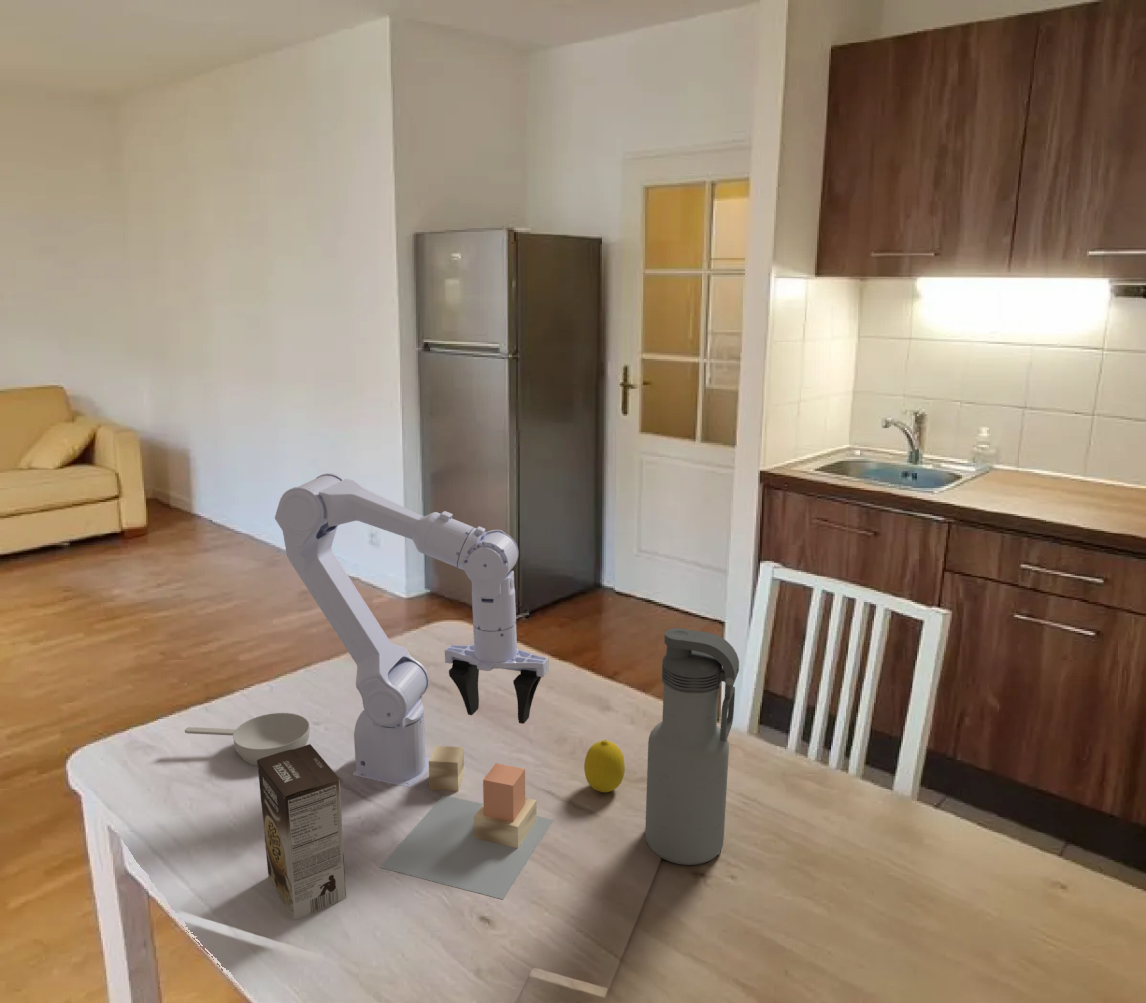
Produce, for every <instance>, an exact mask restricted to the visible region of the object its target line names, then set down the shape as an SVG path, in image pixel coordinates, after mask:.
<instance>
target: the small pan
mask: <svg viewBox="0 0 1146 1003" xmlns="http://www.w3.org/2000/svg"><path fill="white" fill-rule="evenodd" d="M184 733H185V734H189V735H190V734H193V735H210V736H211V735H215V736H216V735H217V736H232V739H233V745H234V748H235V751H236V752H237V753H238V754H239V756H240V758H242V759H243V760H244V761H245V762H246V763H248V764H250V765H252V766H256V767H258V764H257V760H258V759H261V758H264V757H267V756H270V755H273V754H276V753H279V752H283V751H287V750H291V749H297V748H300V747H303V746H306V745H307V743H308V741H309V738H310V722H309V720H308V719H307V718H305V717H304V716H303V715H299V714H296V713H290V712H275V713H268V714H263V715H260V716H259V715H258V716H256V717H254V718H250V719H248V720H246V721H245V722H243V723H242V724H240V725H239V726H238V727H237V728H236V729H235V728H233V729H232V728H216V727H215V728H213V727H193V726H192V727H191V726H188V727H186V728H185V729H184Z"/></svg>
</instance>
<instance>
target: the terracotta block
mask: <svg viewBox="0 0 1146 1003" xmlns="http://www.w3.org/2000/svg"><path fill="white" fill-rule="evenodd" d="M482 788H483V789H482V791H483V792H482V793H483V795H482V797H483V804H484V816H489V817H494V818H498V819H503V820H508V821H513V822H514V820H515V819H516V817H517V816H518V814H519V813H520V811H521V810H522V808H523V806H524V805H525V798H526V768H522V767H517V766H513V765H507V764H501V763H495V764H494V765H493V766H492V767H491V769H490V770H489V772H488V773H487V774H486V776H485V777H484V778H483V780H482Z"/></svg>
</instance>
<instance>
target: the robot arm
mask: <svg viewBox="0 0 1146 1003" xmlns="http://www.w3.org/2000/svg"><path fill="white" fill-rule="evenodd" d="M274 519H275V521H276V523H277V525H278V526H279V527H280V529H281V531H282V535H283V540H284V546H285V553H286V556H287V559H288V561H289V562H290V564H291V566H292V567H293V569H294V570H295V572H296V573H297V575H298V576H299V578H300V579H301V581H302V582H303V584H304V585H305V587H306V588H307V591H308V592H309V594H310V595H311V597H312V598H313V600H314V601H315V603H316V604H317V605H318V607H319V609H320V610H321V612H322V613H323V615H324V616H325V618H326V620H327V621H328V623H329V624H330V626H331V627H332V629H333V631H334V632H335V633H336V635H337V637H338V638H339V640H340V641H341V643H342V644H343V646H344V647H345V649H346V650H347V651H348V653H349V654H348V655H350V656H351V658H352V660H353V661H354V662H355V664H356V677H355V678H356V679H355V688H356V689H357V691H358V693H359V695H360V696H361V699H362V705H363V706H362V708H363V710H361V712H360V714H359V716H358V717H357V719H356V722H355V726H354V730H353V739H354V740H353V742H354V743H353V744H354V760H355V771H354V772H353V773H352V774H353V776H356V777H361V778H365V779H369V780H375V781H378V782H382V783H387V784H391V785H396V786H401V787H406V788H412V787H414V785H415V784H417V782H418V781H419V780H420V779H421V778H422V777H423V776H424V775H425V774H426V773H427V772H429V759H430V757H431V756H427V755H426V754H427V753H426V734H425V733H426V732H425V709H424V705H423V695H424V694H425V693H426V692H427V690H428V689H429V685H430V676H429V672H428V671H427V669H426V667H425V666H424V665H423V664H422V663H421V662H420V661H418V660H416V659H415V658H414V657H413V656H412V655H411V654H410V653H409V651H408V649H407V648H406V647H404V646H402V645H399V644H396V643H394V642H392V641H391V640H390V639H389V637H388V636H387V635H386V633H385V631H384V629H383V628H382V626H381V625H380V623H379V622H378V620H377V618H376V617H375V615H374V614H373V612H372V611H371V609H370V608H369V606H368V604H367V603H366V601H365V600H364V598H363V597H362V594H361V593H360V592H359V591H358V588H356V586H355V584H354V582H353V581H352V580H351V578H350V576H349V575H348V573H347V572H346V570H345V569H344V567H343V566H342V564H341V562H340V561H339V559H338V558H337V556H336V554H335V552H334V551H333V549H332V546H333V542H334V539H335V537H336V536H335V535H336V533H337V528H338V526H339V525H340V526H341V525H343V524H348V523H351V522H360V523H363V524H366V525H369V526H371V527H375V528H377V529H381V530H384V531H387V532H389V533H391V534H395V535H399V536H401V537H404V538H408V539H410V540H412V542H413V543H414V545H415V548H416V549H417V551H418V552H419V553H421V554H423V555H426V556H428V557H430V558H433V559H435V560H437V561H440V562H443V563H444V564H448V565H450V566H453V567H455V568H457V569H460V570H463V571H464V573H465V575H466V576H467V577H468V580H470V582H471V598H472V599H471V606H472V623H473V624H472V626H473V627H472V628H473V645H472V644H471V645H469V644H468V645H467V644H466V645H465V644H464V645H463V644H461V645H459V644H450V645H449V646H448V647H446V648H445V649H444V663H445V664H451V668H450V669H449V670H448V675H449V677H450V679H451V681H453V683H454V685H455V686H456V687H457V690H458V691H459V693H460V696H461V697H462V699H463V700H462V701H463V703H464V707H465V710H466V712H467V715H468V716H474V714H475V713H476V712H477V711H478V710H479V707H480V698H479V697H480V696H479V693H480V692H479V673H480V671H485V672H486V671H487V672H490V671H492V670H495V669H497V670H499V669H502V670H507V671H515V672H520V674H518V675H517V676H516V677H515V678H514V679H513V680H512V682H513V686H514V689H515V693H516V700H517V701H516V702H517V720H518V724H522V725H524V724H525V723H526V722H527V721H528V720H529V718H530V713H531V709H532V708H531V707H532V704H533V699H534V696H535V693H536V691H537V687H538V686H539V684H540V681H541V679H542V678H544V677H545V676H546V675H547V674H548V672H549V669H550V667H549V666H550V664H549V657H545V656H541V655H540V656H539V655H537V654H533V653H531V652H528V651H525V650H522V649H519V648H518V641H517V638H518V636H517V612H516V609H517V608H516V606H517V605H516V589H515V572H514V570H512V569H513V568H514V567H515V565H516V564H517V562H518V559H519V547H518V544H517V542H516V541H515V539H514V538H513V537H512V536H511V535H509V534H507V533H506V532H504V531H503V530H502V529H492V530H488V531H486V528H485V527H482V526H477V527H474V526H472V525H470V524H466V523H465V522H462V521H459V520H457V519H454V518H453V513H451V512H448V511H446V510H443V511H442V512H441V513H439V512H437V511H434V512H431V513H429V514H427V515H421V514H419V513H417V512H415V511H413V510H411V509H409V508H407V507H404V506H403V505H400V504H398V503H396V502H394V501H391V500H389V499H388V498H385V497H383V496H380V495H379V494H377V493H374V492H373V491H370V490H368V489H366V488H364V487H363V486H361V485H360V484H359V483H358V482H357V481H356V480H353V479H349V478H345V479H344V478H343V477H342V476H340V475H338V474H335V473H330V472H329V473H323V474H320V475H318V476H316V477H315V478H314V479H312V480H310V481H308V482H305V483H303V484H301V485H299V486H294V487H291V488H290V489H288V490H286V491H285V492H283V494H282V496H281V497H280V499H279V502H278V506H277V508H276V512H275V515H274Z"/></svg>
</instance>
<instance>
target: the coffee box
mask: <svg viewBox="0 0 1146 1003" xmlns="http://www.w3.org/2000/svg"><path fill="white" fill-rule="evenodd" d="M257 764H258V766H257V770H258V771H257V772H258V774H257V775H258V782H259V783H258V784H259V792H260V793H259V794H260V803H261V813H262V824H263V831H264V832H263V833H264V844H265V852H266V853H265V855H266V866H267V875H268V880H269V881H270V883H271V885H272V887H273V889H274V890H275V892H276V894H277V895H278V897H279V899H280V901H281V902H282V904H283V905H284V907H285V909H286V910H287V913H289V915H290V917H291V919H292V920H293V921H296V920H300V919H301V918H303V917H307V916H309V915H311V914H313V913H314V914H315V912H318V911H321V910H323V909H325V908H327V907H330V906H332V905H335V904H337V903H340V902H341V901H344V900H345V899H347V890H346V887H347V886H346V873H345V856H344V855H345V853H344V836H343V835H344V834H343V833H344V832H343V817H342V816H343V814H342V799H341V784H340V783H341V782H340V777H339V776H338V775H337V773H336V772H335V771H334V770H333V769H332V768H331V766H330V765H329V764H328V763H327V762H326V761H325V759H324V758H323V757H322V756H321V755H320V754H319V752H318V751H317V750H316V749H315V748H314V746H312V745H311V744H310V743H309V744H306V745H305V746H303V747H300V748H297V749H291V750H287V751H283V752H279V753H276V754H273V755H270V756H267V757H264V758H261V759H258V760H257Z"/></svg>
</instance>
